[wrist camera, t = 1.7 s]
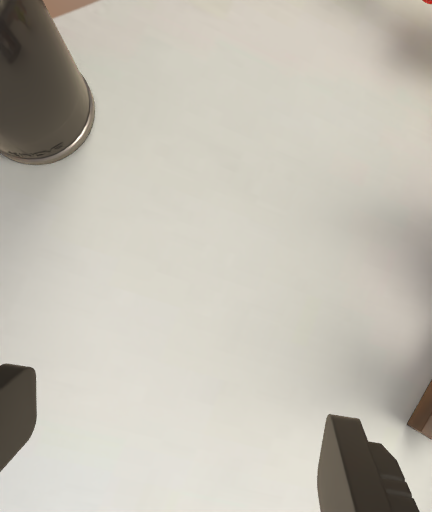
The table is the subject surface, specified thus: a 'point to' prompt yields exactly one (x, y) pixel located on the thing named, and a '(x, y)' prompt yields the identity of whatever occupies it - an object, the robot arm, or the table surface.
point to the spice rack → (423, 414)
